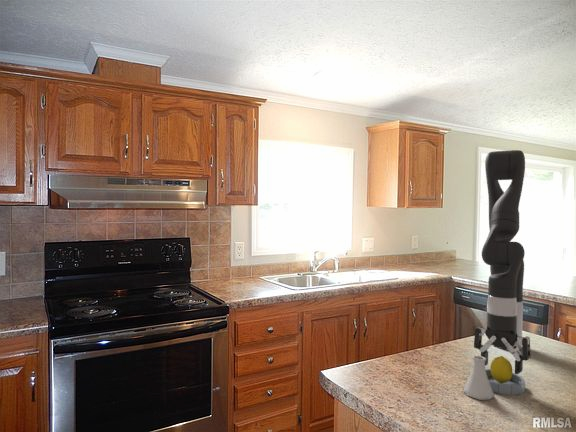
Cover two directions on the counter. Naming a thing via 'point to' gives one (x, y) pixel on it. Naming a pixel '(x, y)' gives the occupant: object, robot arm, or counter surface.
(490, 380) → the dish
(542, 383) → the counter surface
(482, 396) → the flask
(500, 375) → the lemon
